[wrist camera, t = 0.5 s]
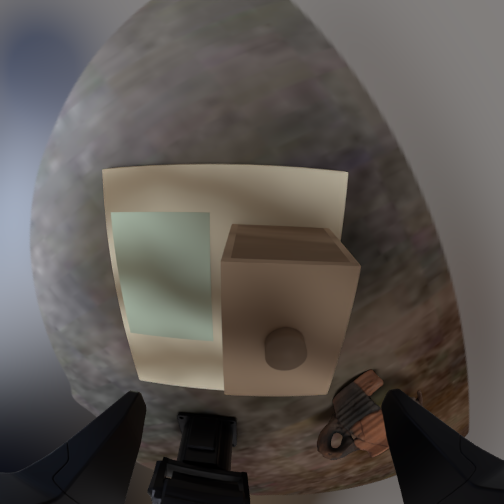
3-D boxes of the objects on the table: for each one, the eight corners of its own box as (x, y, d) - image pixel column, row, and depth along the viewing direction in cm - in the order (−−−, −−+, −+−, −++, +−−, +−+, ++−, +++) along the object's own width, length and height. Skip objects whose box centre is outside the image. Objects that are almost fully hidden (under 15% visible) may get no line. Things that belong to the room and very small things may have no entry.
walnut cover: (312, 336, 20) (330, 406, 14) (231, 334, 20) (223, 407, 14) (329, 228, 17) (368, 275, 11) (231, 224, 17) (217, 271, 11)
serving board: (308, 383, 24) (309, 391, 23) (142, 373, 24) (139, 380, 23) (343, 171, 17) (348, 172, 16) (109, 168, 17) (102, 169, 16)
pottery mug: (392, 345, 23) (443, 403, 17) (387, 368, 30) (424, 412, 24) (290, 420, 22) (333, 485, 16) (309, 424, 29) (343, 473, 23)
